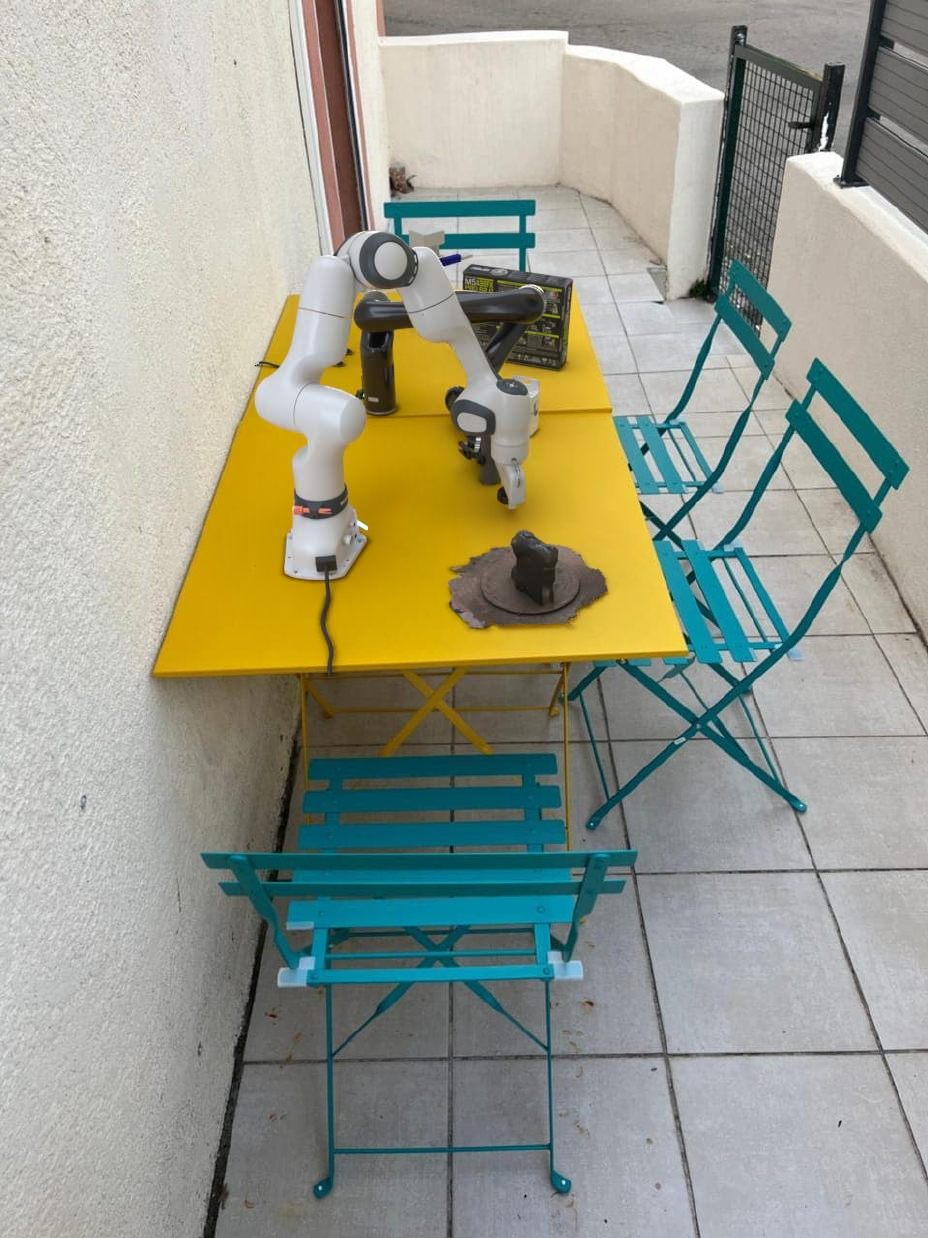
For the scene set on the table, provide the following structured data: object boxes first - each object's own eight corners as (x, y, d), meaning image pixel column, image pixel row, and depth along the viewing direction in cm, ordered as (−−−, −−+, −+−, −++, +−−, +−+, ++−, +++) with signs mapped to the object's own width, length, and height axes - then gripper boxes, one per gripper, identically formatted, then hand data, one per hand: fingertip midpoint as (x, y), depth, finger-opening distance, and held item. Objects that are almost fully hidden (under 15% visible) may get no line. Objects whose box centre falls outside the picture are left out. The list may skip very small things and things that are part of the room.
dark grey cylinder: (479, 475, 229) (480, 408, 217) (498, 474, 229) (500, 407, 217) (481, 485, 225) (481, 417, 213) (500, 484, 225) (501, 417, 213)
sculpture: (594, 649, 177) (601, 586, 167) (427, 621, 184) (424, 559, 174) (615, 555, 202) (623, 495, 191) (467, 533, 209) (467, 474, 198)
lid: (519, 506, 211) (520, 499, 210) (495, 504, 212) (495, 497, 210) (522, 493, 215) (522, 486, 214) (498, 491, 216) (498, 484, 215)
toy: (460, 304, 319) (459, 216, 299) (477, 312, 313) (477, 222, 294) (381, 329, 302) (375, 237, 283) (398, 337, 296) (393, 244, 277)
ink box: (503, 429, 247) (504, 380, 238) (510, 422, 250) (512, 373, 241) (531, 436, 244) (533, 386, 234) (538, 429, 247) (541, 379, 238)
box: (567, 361, 281) (574, 276, 264) (561, 371, 276) (566, 284, 258) (470, 346, 291) (469, 262, 273) (461, 355, 285) (460, 270, 268)
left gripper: (533, 470, 197) (530, 522, 206) (514, 426, 212) (513, 476, 221) (505, 473, 196) (504, 524, 205) (488, 429, 212) (488, 478, 221)
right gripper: (450, 420, 230) (465, 452, 217) (503, 414, 232) (521, 445, 220) (450, 445, 235) (465, 478, 222) (503, 439, 237) (520, 471, 224)
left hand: (508, 499), depth 214 cm, fingers closed on lid, 5 cm apart
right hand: (492, 461), depth 221 cm, fingers closed on dark grey cylinder, 5 cm apart
